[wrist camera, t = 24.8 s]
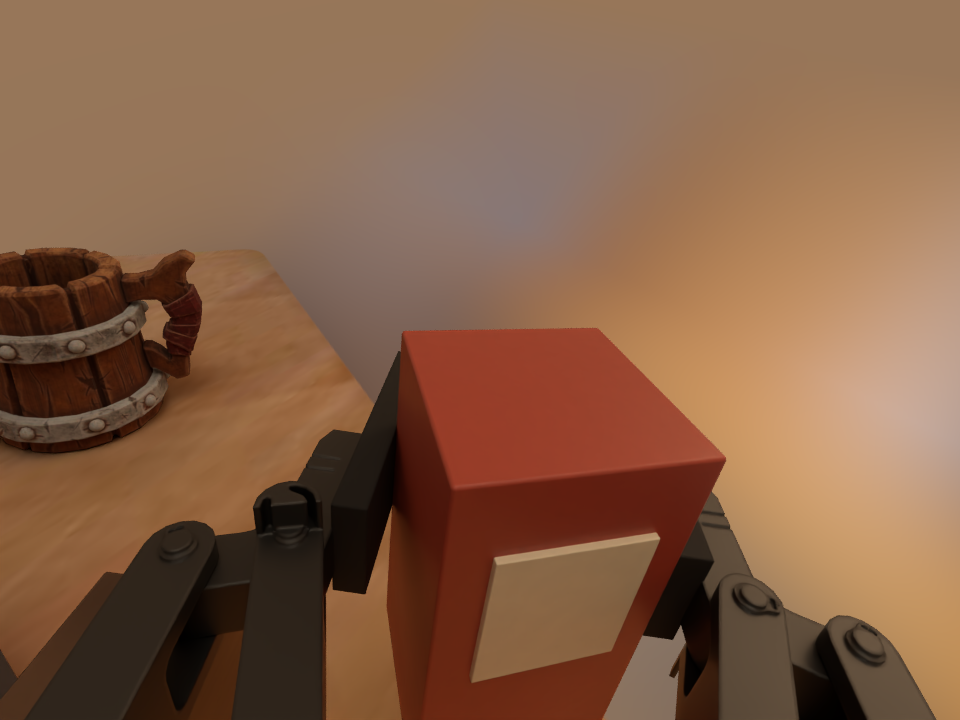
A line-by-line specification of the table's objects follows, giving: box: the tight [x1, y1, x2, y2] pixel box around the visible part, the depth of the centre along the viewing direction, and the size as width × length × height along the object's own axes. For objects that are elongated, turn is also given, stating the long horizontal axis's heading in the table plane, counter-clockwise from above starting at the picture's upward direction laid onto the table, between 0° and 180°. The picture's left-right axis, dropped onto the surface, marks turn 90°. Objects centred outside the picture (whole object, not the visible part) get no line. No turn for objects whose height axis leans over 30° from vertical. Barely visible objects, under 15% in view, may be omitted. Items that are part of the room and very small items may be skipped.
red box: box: [387, 328, 726, 720], centre depth 13 cm, size 5×5×10 cm
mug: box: [0, 248, 202, 453], centre depth 38 cm, size 12×14×15 cm
